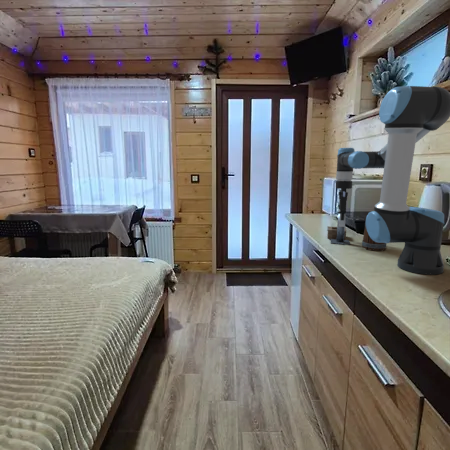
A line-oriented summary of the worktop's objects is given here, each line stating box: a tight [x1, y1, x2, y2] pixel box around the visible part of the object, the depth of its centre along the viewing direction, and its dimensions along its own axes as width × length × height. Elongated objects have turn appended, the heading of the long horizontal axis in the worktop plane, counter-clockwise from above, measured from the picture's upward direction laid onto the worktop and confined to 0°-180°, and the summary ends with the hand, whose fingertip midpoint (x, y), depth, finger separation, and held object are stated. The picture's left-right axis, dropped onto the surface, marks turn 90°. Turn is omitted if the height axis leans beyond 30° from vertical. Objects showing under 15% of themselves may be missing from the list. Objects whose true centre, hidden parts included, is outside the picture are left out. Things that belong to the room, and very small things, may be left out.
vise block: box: [326, 226, 347, 240], centre depth 173 cm, size 9×9×5 cm
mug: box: [361, 221, 387, 252], centre depth 153 cm, size 16×11×15 cm
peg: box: [336, 214, 346, 242], centre depth 162 cm, size 4×4×14 cm
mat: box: [330, 239, 351, 246], centre depth 163 cm, size 9×9×1 cm
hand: (341, 224), depth 162 cm, fingers open, 11 cm apart
